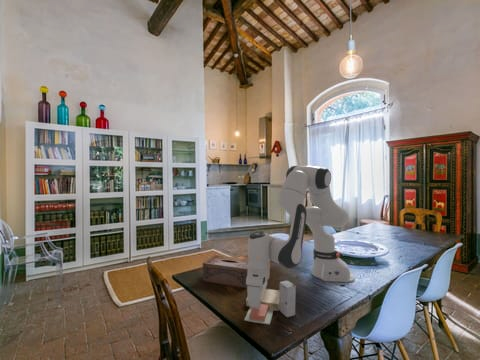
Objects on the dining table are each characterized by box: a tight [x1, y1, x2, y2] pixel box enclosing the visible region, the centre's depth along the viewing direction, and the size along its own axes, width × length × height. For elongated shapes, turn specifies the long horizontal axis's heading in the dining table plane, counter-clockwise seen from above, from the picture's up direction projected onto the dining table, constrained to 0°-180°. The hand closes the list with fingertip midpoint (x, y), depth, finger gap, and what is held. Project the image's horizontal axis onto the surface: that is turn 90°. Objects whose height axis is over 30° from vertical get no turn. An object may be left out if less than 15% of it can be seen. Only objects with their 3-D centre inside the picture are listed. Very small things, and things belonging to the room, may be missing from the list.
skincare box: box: [278, 280, 297, 318], centre depth 98 cm, size 6×4×12 cm
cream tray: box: [245, 288, 280, 312], centre depth 107 cm, size 14×12×3 cm
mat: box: [244, 307, 274, 326], centre depth 96 cm, size 10×10×1 cm
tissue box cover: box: [202, 254, 249, 289], centre depth 131 cm, size 26×14×10 cm, turn 69°
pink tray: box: [250, 304, 269, 322], centre depth 96 cm, size 9×6×2 cm, turn 163°
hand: (258, 306), depth 96 cm, fingers closed
